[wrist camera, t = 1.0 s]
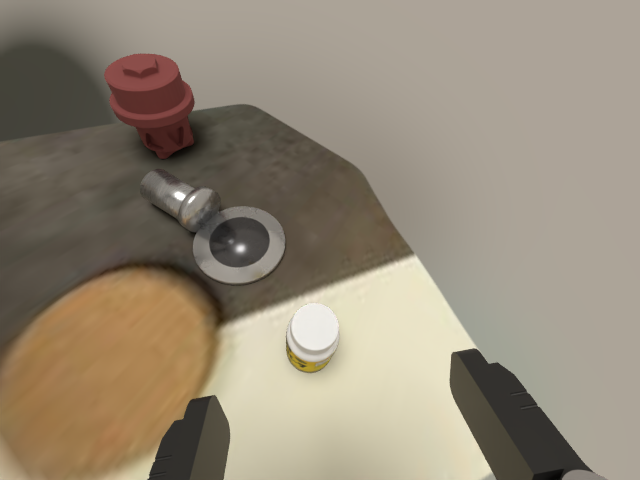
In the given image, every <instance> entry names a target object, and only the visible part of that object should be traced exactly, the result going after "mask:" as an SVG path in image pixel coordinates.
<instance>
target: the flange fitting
mask: <svg viewBox="0 0 640 480" xmlns="http://www.w3.org/2000/svg"><path fill="white" fill-rule="evenodd" d="M140 192H141V195H142V197H143V198H145V199H146V200H148V201H149V202H151V203H152V204H154V205H156V206H157V207H159V208H160V209H162V210H164V211H165V212H167V213H168V214H170V215H172V216H173V217H175V218H176V219H178V221H179V223H180V225H181V226H183V227H185V228H186V229H188V230H189V231H191V232H197V233H196V235H195V238H194V242H193V254H194V257H195V260H196V262H197V264H198V266H199V267H200V269H201V270H202V271H203V273H204V274H205V275H207V276H208V277H209V278H211V279H213V280H214V281H217V282H219V283H222V284H226V285H246V284H251V283H254V282H257V281H259V280H261V279H263V278H265V277H266V276H268V275H269V274H270V273H271V272H273V271H274V270H275V268H276V267H277V266H278V265H279V263H280V262H281V260H282V258H283V255H284V251H285V235H284V232H283V229H282V227H281V225H280V224H279V222H278V221H277V220H276V219H275V218H274V217H273V216H272V215H270V214H269V213H267V212H265V211H263V210H260V209H257V208H253V207H243V206H241V207H232V208H228V209H225V210H222V211H220V212H218V211H219V208H220V197H219V195H218V193H217V192H215V191H213V190H212V189H210V188H208V187H205V186H201V187H198V188H194V187H192V186H190V185H189V184H187V183H185V182H184V181H182V180H180V179H178V178H177V177H175V176H173V175H172V174H170V173H168V172H167V171H165V170H162V169H156V170H153V171H151V172H149V173H148V174H147V175H146V176H145V177H144V179H143V180H142V183H141V186H140Z"/></svg>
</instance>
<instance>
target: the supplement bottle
mask: <svg viewBox="0 0 640 480" xmlns="http://www.w3.org/2000/svg"><path fill="white" fill-rule="evenodd" d="M338 343H339V323H338V319H337V317H336V315H335V314H334V312H333V311H332V310H331V309H330V308H329V307H327V306H325V305H323V304H319V303H310V304H306V305H304V306H302V307H301V308H299V309H298V310H297V311H296V313H295V314H294V316H293V317H292V319H291V320H290V322H289V324H288V327H287V332H286V351H287V356H288V359H289V361H290V362H291V364H292V365H293V366H294V367H295V368H296V369H298V370H299V371H302V372H305V373H314V372H317V371H319V370H321V369H322V368H324V367H325V366H326V365H327V363H328V362H329V360H330V358H331V357H332V355H333V353H334V352H335V350H336V348H337V346H338Z"/></svg>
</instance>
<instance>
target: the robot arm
mask: <svg viewBox="0 0 640 480" xmlns="http://www.w3.org/2000/svg"><path fill="white" fill-rule="evenodd" d="M450 388H451V392H452V395H453V398H454V400H455V402H456V404H457V406H458V408H459V410H460V412H461V413H462V415H463V417H464V419H465V421H466V423H467V425H468V427H469V428H470V430H471V432H472V434H473V436H474V438H475V440H476V442H477V443H478V445H479V447H480V449H481V451H482V453H483V455H484V457H485V459H486V460H487V462H488V464H489V466H490V468H491V470H492V472H493V474H494V475H495V477H496V479H497V480H607V479H605V478H604V477H602V476H600V475H598V474H596V473H594V472H593V471H592V470H591V469H590V468H589V467H587V466H586V465H585V463H584V462H583V461H582V460H581V459H580V458H579V457H578V455H577V454H576V453H575V451H574V450H573V449H572V447H571V446H570V445H569V444H568V443H567V441H566V440H565V439H564V437H563V436H562V435H561V434H560V432H559V431H558V430H557V428H556V427H555V426H554V425H553V423H552V422H551V421H550V420H549V418H548V417H547V416H546V414H545V413H544V412H543V411H542V409H541V408H540V407H538V406H537V403H536V402H535V401H534V399H533V398H532V397H531V395H530V394H528V393H527V391H526V389H525V388H524V386H523V385H522V384H521V383H520V381H519V380H518V379H517V378H516V376H515V375H514V374H513V373H511V372H510V371H508V370H507V369H506V368H504V367H503V366H501V365H500V364H499V363H492V364H488V362H487V361H486V360H485V358H484V357H483V356H482V354H481V353H480V352H479V351H478V350H477V349H469V350H463V351H458V352H453V353H452V355H451V369H450ZM229 443H230V428H229V423H228V420H227V418H226V416H225V414H224V412H223V410H222V407H221V405H220V403H219V401H218V399H217V397H216V396H215V395H212V396H207V397H202V398H196V399H192V400H190V402H189V403H188V406H187V409H186V412H185V415H184V418H183V419H182V420H177V421H174V422H173V424H172V425H171V427H170V428H169V430H168V431H167V432H166V434H165V435H164V437H163V438H162V440H161V443H160V446H159V449H158V452H157V454H156V457H155V462H154V463H153V465H152V468H151V471H150V474H149V479H147V480H223V479H224V473H225V467H226V461H227V455H228V449H229Z"/></svg>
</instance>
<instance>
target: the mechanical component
mask: <svg viewBox="0 0 640 480" xmlns="http://www.w3.org/2000/svg"><path fill="white" fill-rule="evenodd" d="M104 76H105V80H106V82H107V83H108V85H109V87H110V89H111V91H112V94H111V96H110V100H109V101H110V105H111V107H112V109H113V111H114V113H115V114H116V116H117V117H118V119H119V120H121V121H122V122H124V123H126V124H128V125H131V126H134V127H136V129H137V131H138V133H139V135H140V137H141V139H142V141H143V143H144V145H145V146H146V147H147V148H149V149H151V150H153V151H156V154H157V156H158V157H159V158H160V159H166V158H168V157H169V156H170V155H171V154H172V153H174V152H175V151H177V150H179V149H181V148H184V147H187V146H191V145H192V144H194V140H193V133H192V129H191V127H190V125H189V121H188V116H187V115H188V114H189V113H190V112H191V111H192V109H193V107H194V98H193V94H192V90H191V88H190V86H189V85H188V84H187V83H185V82H184V81H182V79H181V75H180V72H179V68H178V66H177V65H176V63H175V62H174V61H173V60H171V59H169V58H167V57H164V56H161V55H155V54H133V55H130V56H126V57H123V58H121V59H119V60H117V61H115V62H113V63H112V64H111V65H109V66H108V68H107V69H106V71H105V74H104Z"/></svg>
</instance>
